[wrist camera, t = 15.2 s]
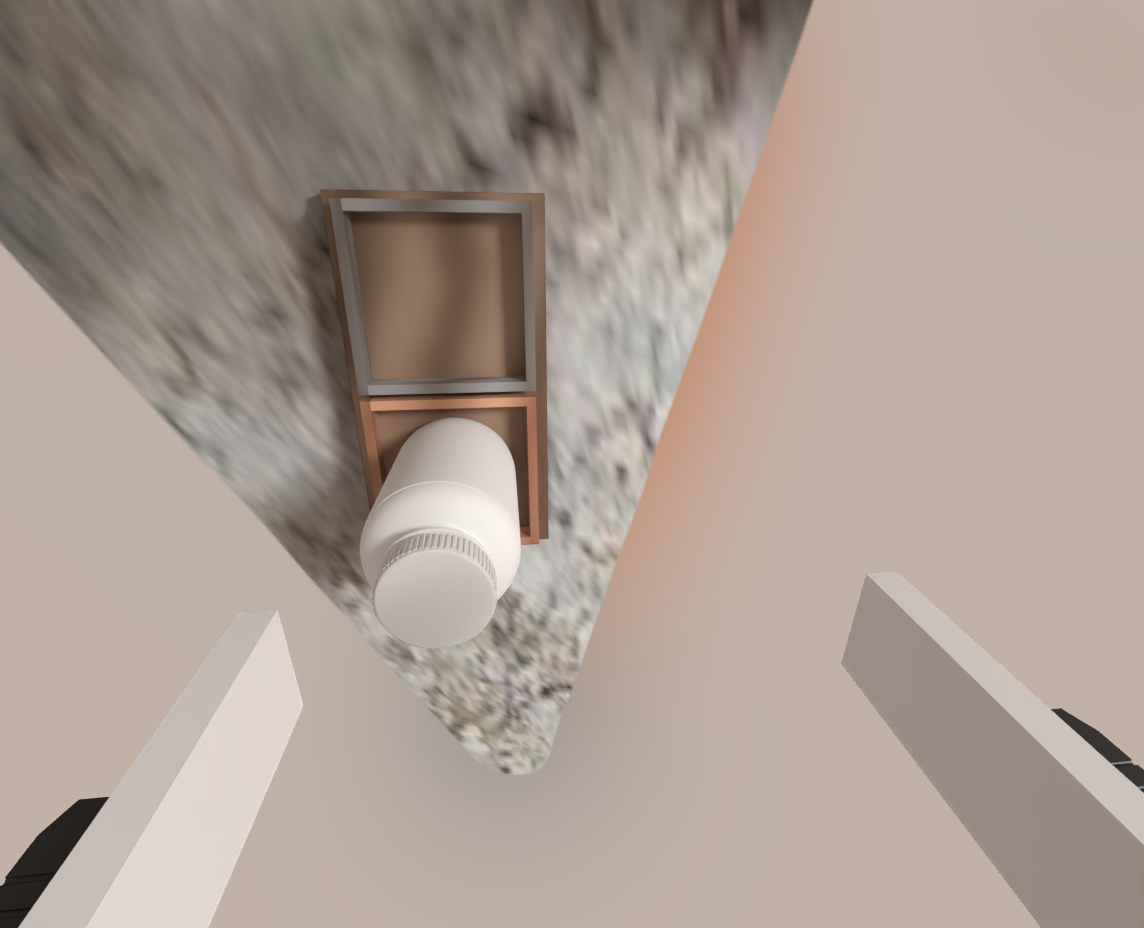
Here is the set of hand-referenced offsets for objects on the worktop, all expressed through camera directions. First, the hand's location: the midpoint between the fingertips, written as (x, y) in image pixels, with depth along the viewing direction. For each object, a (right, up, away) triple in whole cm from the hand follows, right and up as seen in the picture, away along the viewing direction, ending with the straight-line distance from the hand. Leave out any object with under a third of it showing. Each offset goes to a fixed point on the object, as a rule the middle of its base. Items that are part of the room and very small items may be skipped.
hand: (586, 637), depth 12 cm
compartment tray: (-8, +9, +24) cm, 27 cm away
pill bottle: (-8, +4, +25) cm, 26 cm away
